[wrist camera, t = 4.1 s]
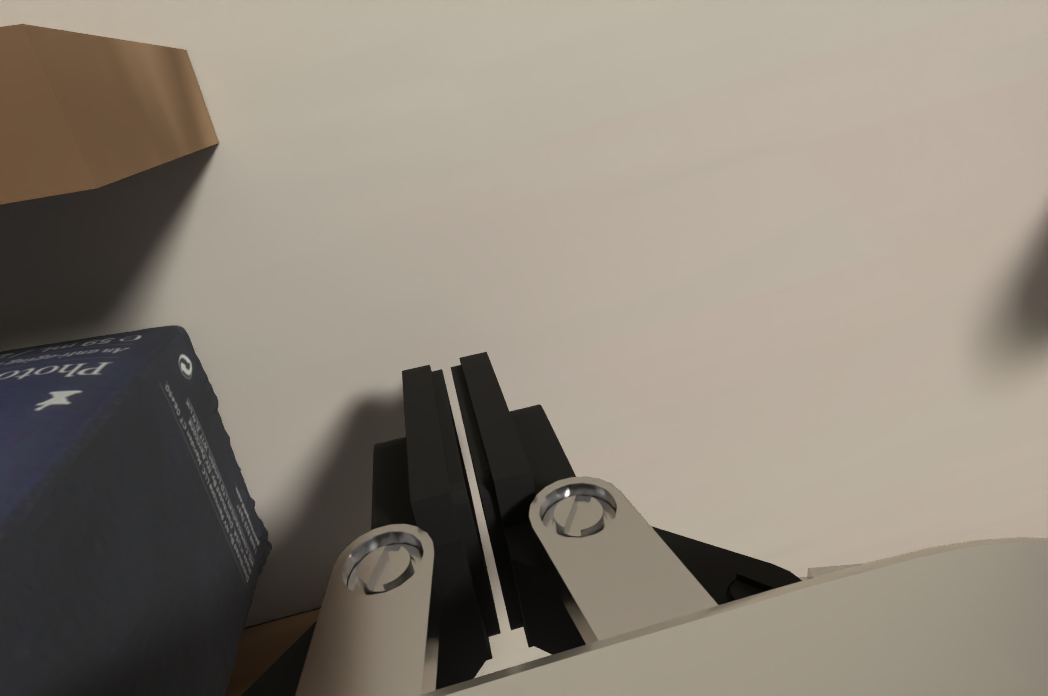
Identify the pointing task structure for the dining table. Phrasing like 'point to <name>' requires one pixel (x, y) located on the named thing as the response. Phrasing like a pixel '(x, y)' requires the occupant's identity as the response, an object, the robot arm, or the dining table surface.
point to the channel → (109, 165)
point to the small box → (120, 522)
